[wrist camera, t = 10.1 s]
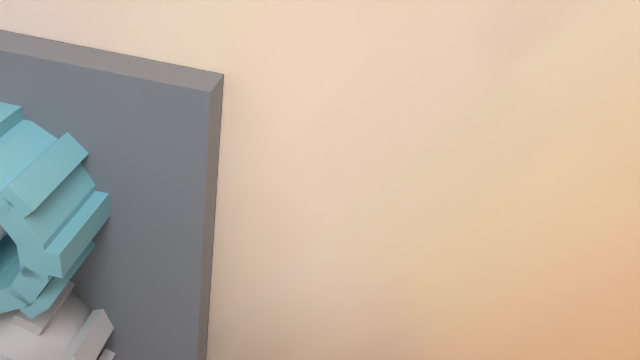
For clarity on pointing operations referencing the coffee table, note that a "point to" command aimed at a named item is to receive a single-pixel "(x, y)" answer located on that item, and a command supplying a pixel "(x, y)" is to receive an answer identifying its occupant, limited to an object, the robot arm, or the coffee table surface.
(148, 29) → the coffee table surface
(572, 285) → the coffee table surface
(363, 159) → the coffee table surface
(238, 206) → the coffee table surface
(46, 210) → the teal gear
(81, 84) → the gear board
